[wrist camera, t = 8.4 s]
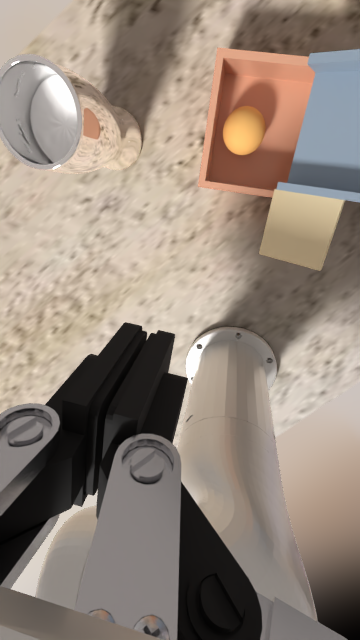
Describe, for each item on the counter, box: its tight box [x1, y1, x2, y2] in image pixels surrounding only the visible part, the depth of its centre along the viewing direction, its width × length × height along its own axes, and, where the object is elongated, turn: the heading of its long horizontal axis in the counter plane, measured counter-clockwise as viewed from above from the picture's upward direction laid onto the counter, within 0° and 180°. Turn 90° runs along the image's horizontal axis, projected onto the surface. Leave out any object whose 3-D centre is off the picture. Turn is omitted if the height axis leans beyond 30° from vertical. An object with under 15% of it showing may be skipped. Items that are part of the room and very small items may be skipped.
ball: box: [223, 106, 266, 155], centre depth 29 cm, size 4×4×4 cm
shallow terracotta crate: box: [198, 48, 315, 198], centre depth 29 cm, size 11×11×5 cm
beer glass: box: [0, 54, 142, 174], centre depth 27 cm, size 7×7×15 cm
